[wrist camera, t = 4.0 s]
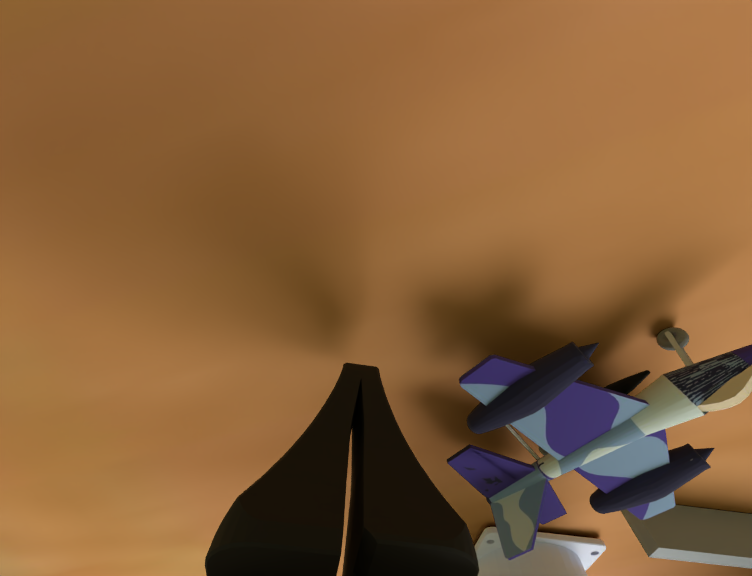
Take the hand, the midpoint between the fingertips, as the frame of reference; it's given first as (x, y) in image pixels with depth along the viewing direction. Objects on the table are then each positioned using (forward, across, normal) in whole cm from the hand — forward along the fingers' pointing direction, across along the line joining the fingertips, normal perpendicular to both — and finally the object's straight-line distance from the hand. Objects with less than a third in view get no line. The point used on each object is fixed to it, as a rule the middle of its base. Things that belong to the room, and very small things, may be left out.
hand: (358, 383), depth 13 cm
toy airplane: (+2, -11, 0) cm, 11 cm away
